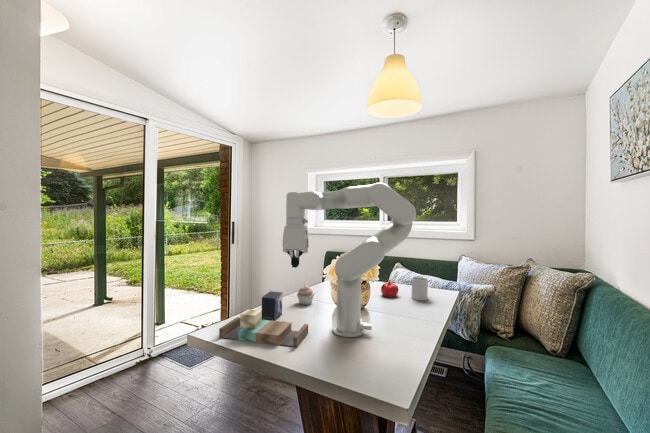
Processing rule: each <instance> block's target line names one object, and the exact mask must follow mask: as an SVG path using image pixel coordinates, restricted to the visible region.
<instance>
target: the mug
mask: <svg viewBox="0 0 650 433" xmlns="http://www.w3.org/2000/svg"><path fill="white" fill-rule="evenodd" d="M428 283H429V282H428V278H424V277H419V276H417V277H412V278H411V299H412V300H414V299H415V301H418V300H425V301H428V293H429V292H428V291H429V290H428Z"/></svg>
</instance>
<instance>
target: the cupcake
mask: <svg viewBox="0 0 650 433" xmlns="http://www.w3.org/2000/svg"><path fill="white" fill-rule="evenodd" d="M296 296H297V299H298V303H299V304H300V305H303V306H308V305H311V304H312V303H313V299H314V296H315V293H314V292H313V289H312V288H311V287H310V286H309V285H307V284H304V286H301V287H300V289H298V290H297V294H296Z"/></svg>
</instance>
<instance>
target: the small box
mask: <svg viewBox="0 0 650 433" xmlns="http://www.w3.org/2000/svg"><path fill="white" fill-rule="evenodd" d="M261 311H262V320H270V321H277V320H278V318H280V317H281V316H282V315H283V292H282V291H281V292H280V291H272V290H270V291H269V292H267V293H265V295H264V294H263V296H261Z"/></svg>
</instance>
